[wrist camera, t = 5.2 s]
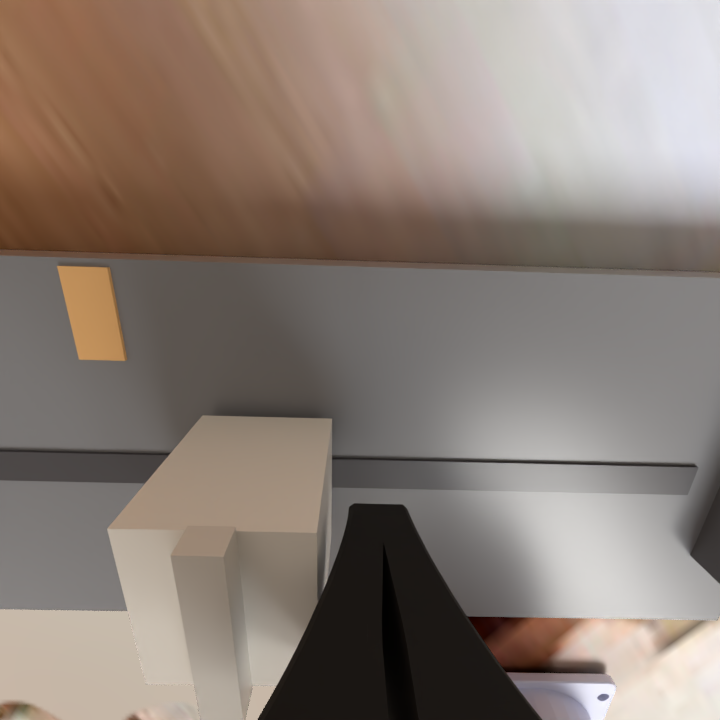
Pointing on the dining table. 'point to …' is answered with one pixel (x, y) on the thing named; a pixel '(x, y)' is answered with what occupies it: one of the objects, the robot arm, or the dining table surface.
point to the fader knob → (228, 555)
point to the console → (379, 415)
